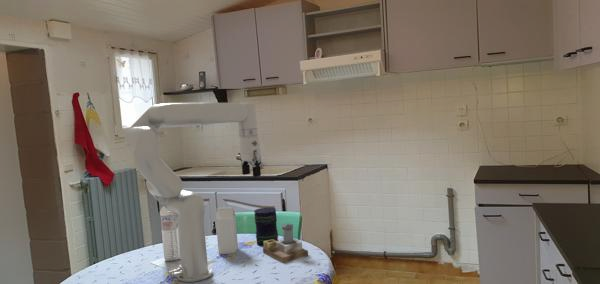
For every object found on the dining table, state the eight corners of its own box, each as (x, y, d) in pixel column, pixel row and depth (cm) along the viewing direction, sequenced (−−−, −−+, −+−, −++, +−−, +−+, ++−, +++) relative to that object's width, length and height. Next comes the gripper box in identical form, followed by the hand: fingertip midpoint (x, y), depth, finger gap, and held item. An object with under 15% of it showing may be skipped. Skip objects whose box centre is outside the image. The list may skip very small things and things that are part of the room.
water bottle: (160, 261, 182) (155, 202, 180) (172, 255, 188) (167, 198, 186) (173, 263, 179) (167, 202, 177) (184, 257, 185) (179, 199, 183)
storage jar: (253, 242, 200) (250, 209, 199) (273, 238, 204) (271, 206, 203) (261, 247, 191) (258, 214, 190) (281, 243, 195) (279, 210, 194)
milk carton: (235, 253, 186) (231, 209, 184) (218, 254, 186) (214, 210, 185) (238, 247, 193) (234, 205, 192) (222, 248, 193) (218, 206, 192)
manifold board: (282, 262, 170) (281, 250, 170) (263, 252, 184) (262, 241, 184) (308, 255, 177) (307, 243, 176) (287, 246, 190) (286, 235, 190)
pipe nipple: (287, 251, 177) (285, 227, 176) (281, 249, 181) (279, 225, 180) (296, 249, 179) (295, 225, 179) (291, 246, 183) (289, 223, 183)
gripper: (266, 132, 172) (269, 176, 174) (247, 132, 187) (250, 172, 188) (249, 134, 168) (252, 178, 170) (230, 134, 183) (234, 174, 184)
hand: (251, 175), depth 179 cm, fingers open, 9 cm apart
